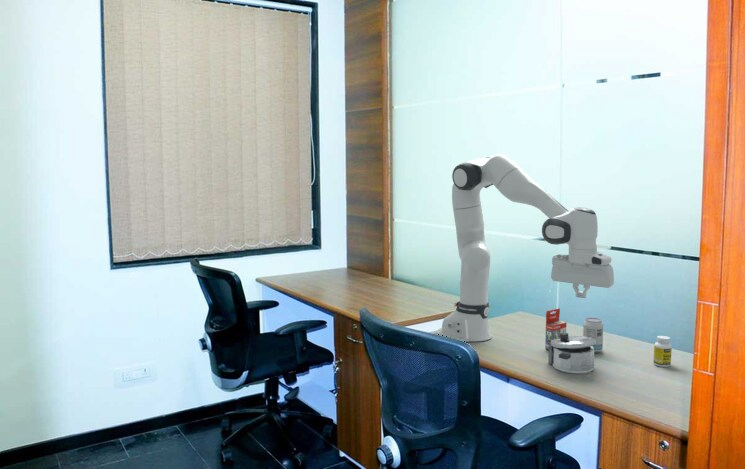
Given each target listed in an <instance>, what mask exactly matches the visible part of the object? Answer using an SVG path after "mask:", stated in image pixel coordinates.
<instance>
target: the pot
mask: <svg viewBox="0 0 745 469" xmlns="http://www.w3.org/2000/svg"><path fill="white" fill-rule="evenodd" d="M547 356H548V359H547V364H549V365H552V367H553V368H554V369H555V370H556V371H559V372H562V373H567V374H573V375H574V374H575V375H584V374H590V373H592V372H593V371H594V370H595V353H594V348H593V346H590V347H586V348H579V349H562V348H556V347H553V346H552V345H549V350H548V354H547Z"/></svg>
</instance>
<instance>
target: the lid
mask: <svg viewBox="0 0 745 469" xmlns="http://www.w3.org/2000/svg"><path fill="white" fill-rule="evenodd" d="M595 344H596V339H594V338H591V337H585V336H583V335H573V336H572V335H571V336H569V333H568V332H566V333H560V338H557V339H554V340H552V341H550V342H549V345H552V346H553V347H556V348H562V349H579V348H586V347H590V346H593V345H595Z"/></svg>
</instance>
